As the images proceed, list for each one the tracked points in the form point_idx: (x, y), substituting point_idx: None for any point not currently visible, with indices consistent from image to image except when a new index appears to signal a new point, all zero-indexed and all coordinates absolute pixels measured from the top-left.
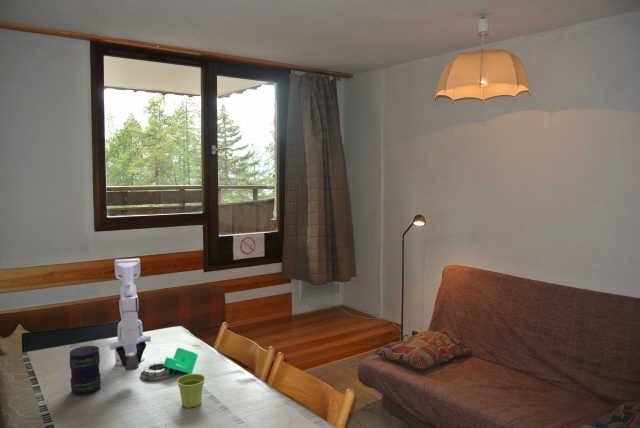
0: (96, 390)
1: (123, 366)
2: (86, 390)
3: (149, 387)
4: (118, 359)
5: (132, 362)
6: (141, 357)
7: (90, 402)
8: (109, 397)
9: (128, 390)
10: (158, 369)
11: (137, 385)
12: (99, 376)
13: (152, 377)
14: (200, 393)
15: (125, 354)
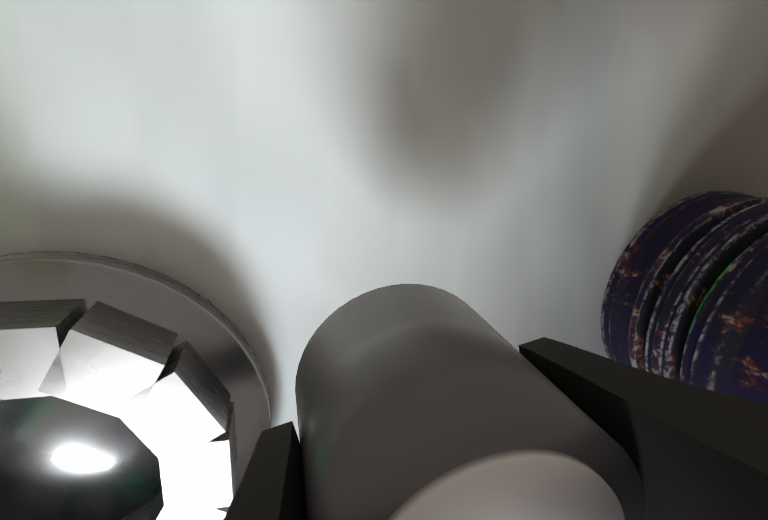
0: (654, 231)
1: (549, 341)
2: (757, 197)
3: (172, 96)
4: None
5: (435, 344)
6: (231, 505)
7: (727, 14)
8: (581, 40)
9: (403, 128)
10: (64, 513)
11: (308, 220)
12: (722, 315)
13: (130, 313)
14: None
15: None
